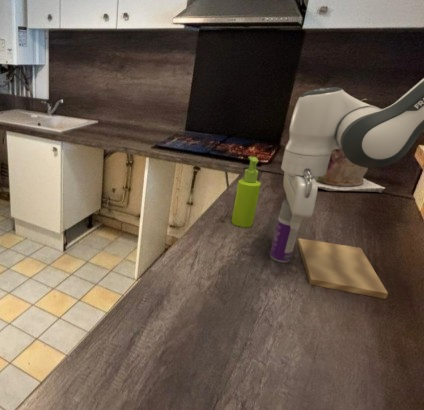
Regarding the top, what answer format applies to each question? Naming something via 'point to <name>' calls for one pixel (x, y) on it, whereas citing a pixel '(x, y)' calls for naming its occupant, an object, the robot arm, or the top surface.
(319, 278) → the cutting board
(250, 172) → the soap dispenser
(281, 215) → the container
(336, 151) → the cookie jar
